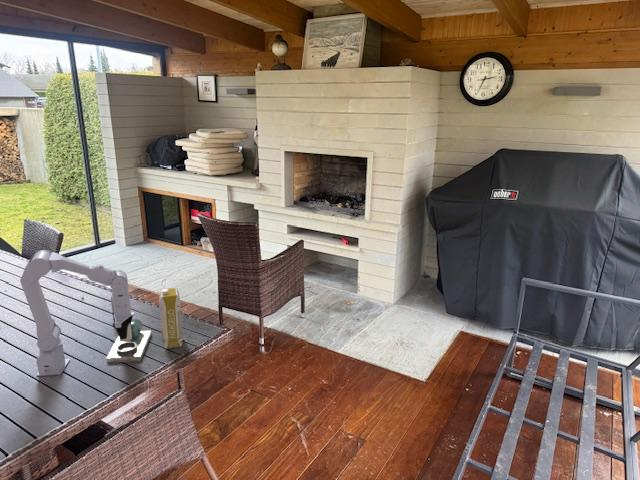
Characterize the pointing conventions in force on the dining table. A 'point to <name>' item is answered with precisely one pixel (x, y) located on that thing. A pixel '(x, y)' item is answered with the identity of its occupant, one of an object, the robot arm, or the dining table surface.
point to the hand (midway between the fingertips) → (125, 335)
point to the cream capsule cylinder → (129, 335)
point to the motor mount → (130, 345)
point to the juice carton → (171, 318)
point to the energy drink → (112, 308)
